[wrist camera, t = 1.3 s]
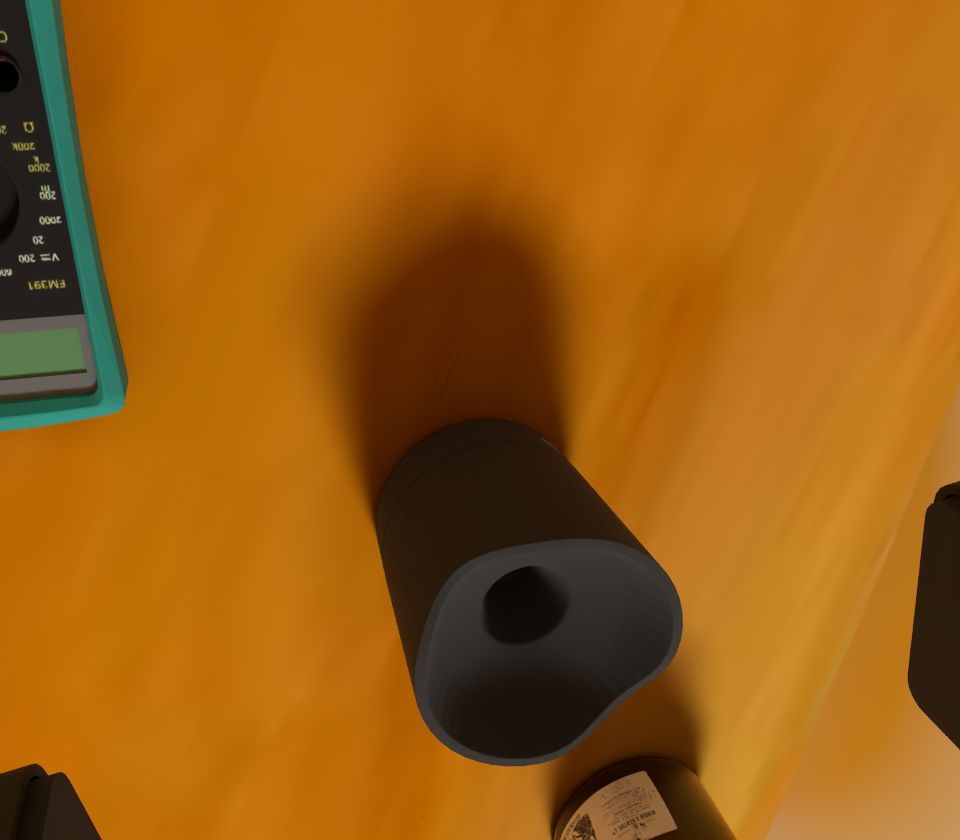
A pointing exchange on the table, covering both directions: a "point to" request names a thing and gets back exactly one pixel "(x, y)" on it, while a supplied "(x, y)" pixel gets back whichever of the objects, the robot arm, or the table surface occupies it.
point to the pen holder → (517, 594)
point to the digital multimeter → (48, 239)
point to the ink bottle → (643, 805)
